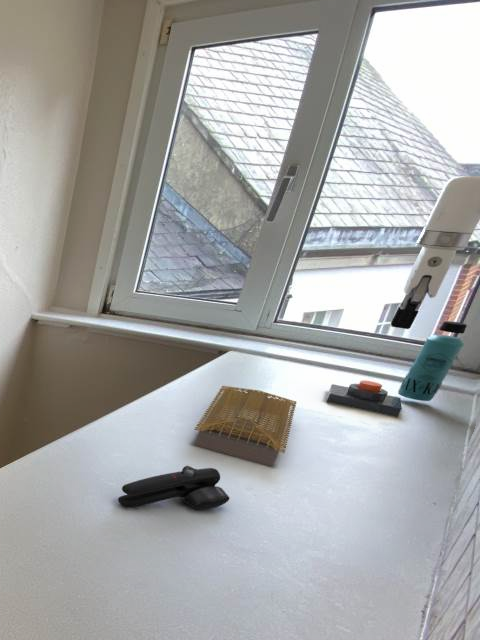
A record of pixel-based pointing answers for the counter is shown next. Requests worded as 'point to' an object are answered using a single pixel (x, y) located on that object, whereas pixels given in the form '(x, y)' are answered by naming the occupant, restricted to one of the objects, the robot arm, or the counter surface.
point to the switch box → (365, 399)
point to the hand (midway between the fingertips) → (400, 326)
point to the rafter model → (246, 424)
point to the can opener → (177, 489)
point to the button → (369, 386)
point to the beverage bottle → (432, 363)
